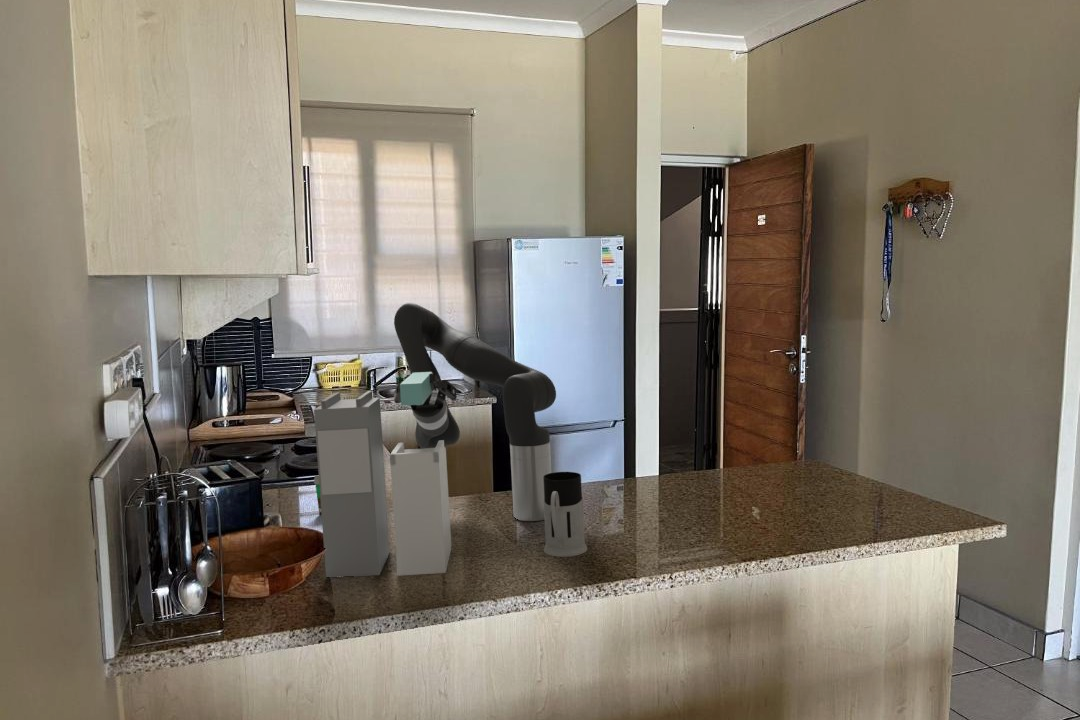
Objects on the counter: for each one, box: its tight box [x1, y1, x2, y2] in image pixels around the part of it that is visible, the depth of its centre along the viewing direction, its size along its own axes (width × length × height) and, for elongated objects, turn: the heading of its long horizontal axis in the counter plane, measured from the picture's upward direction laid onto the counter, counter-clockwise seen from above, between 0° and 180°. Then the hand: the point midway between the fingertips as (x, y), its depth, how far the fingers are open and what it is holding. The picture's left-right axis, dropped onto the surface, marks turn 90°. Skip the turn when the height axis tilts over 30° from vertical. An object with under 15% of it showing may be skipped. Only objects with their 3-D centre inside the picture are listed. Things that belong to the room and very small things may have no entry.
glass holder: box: [543, 471, 588, 558], centre depth 159 cm, size 9×14×15 cm, turn 167°
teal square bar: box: [400, 372, 433, 406], centre depth 160 cm, size 4×20×4 cm, turn 2°
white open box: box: [389, 440, 452, 577], centre depth 158 cm, size 9×15×23 cm, turn 2°
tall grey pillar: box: [313, 390, 391, 578], centre depth 157 cm, size 10×13×34 cm
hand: (419, 377), depth 165 cm, fingers closed on teal square bar, 4 cm apart
